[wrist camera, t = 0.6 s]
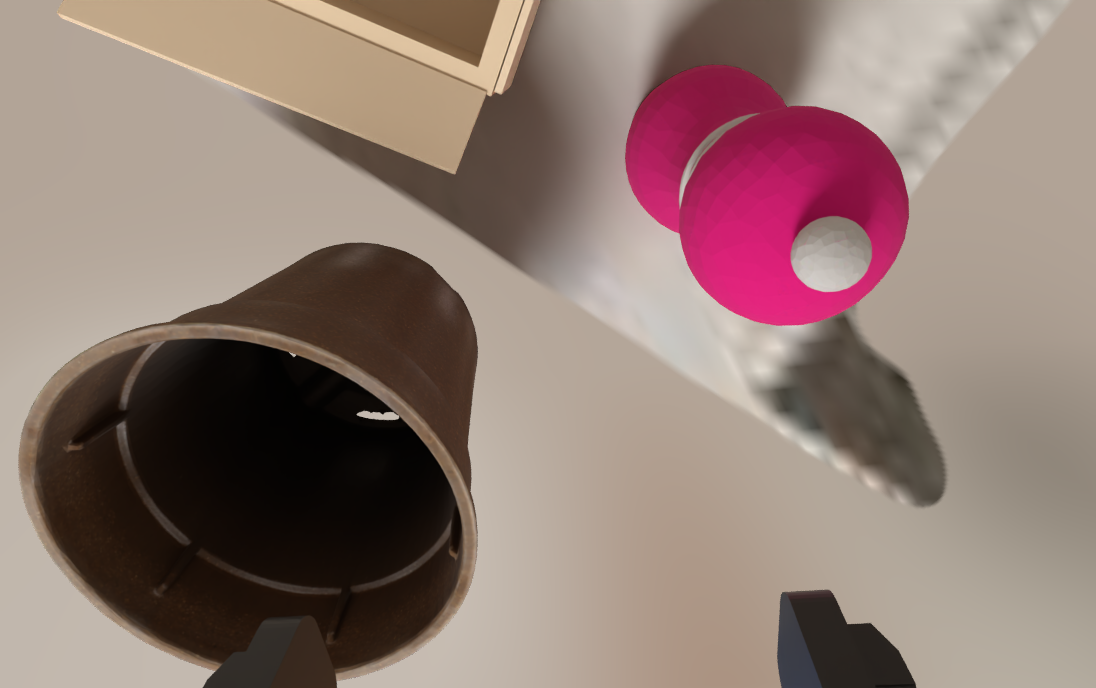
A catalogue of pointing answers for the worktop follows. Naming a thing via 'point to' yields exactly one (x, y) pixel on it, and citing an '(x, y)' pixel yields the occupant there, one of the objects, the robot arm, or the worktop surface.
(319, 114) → the carton
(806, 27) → the worktop surface
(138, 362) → the plant pot
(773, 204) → the pepper mill
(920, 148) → the worktop surface
